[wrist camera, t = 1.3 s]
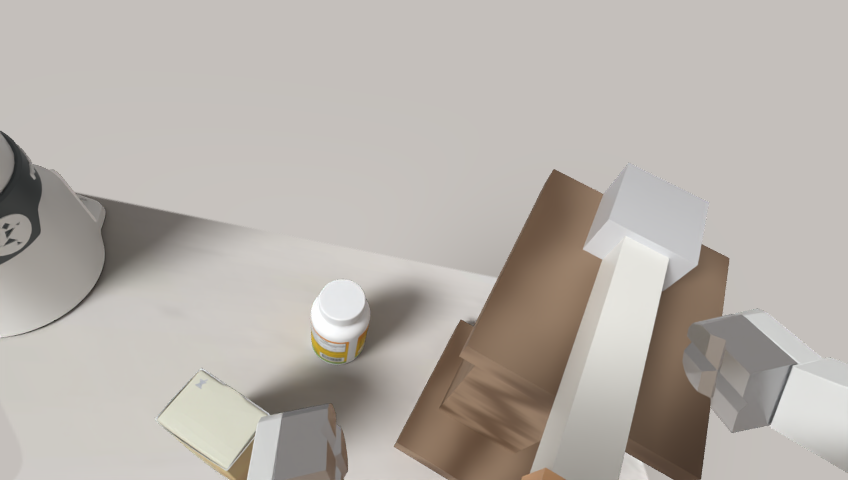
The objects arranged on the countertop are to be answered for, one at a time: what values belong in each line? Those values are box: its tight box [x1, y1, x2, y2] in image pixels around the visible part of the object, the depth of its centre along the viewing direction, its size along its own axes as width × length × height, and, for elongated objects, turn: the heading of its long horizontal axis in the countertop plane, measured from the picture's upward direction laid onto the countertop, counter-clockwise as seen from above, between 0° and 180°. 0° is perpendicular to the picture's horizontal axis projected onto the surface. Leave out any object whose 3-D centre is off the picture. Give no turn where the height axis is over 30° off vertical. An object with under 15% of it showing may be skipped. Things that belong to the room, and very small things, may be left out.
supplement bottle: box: [311, 279, 370, 365], centre depth 45 cm, size 5×5×10 cm
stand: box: [394, 169, 729, 480], centre depth 37 cm, size 12×14×26 cm
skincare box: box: [155, 368, 270, 480], centre depth 37 cm, size 6×4×12 cm
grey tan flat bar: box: [521, 163, 709, 480], centre depth 22 cm, size 5×23×3 cm, turn 153°
